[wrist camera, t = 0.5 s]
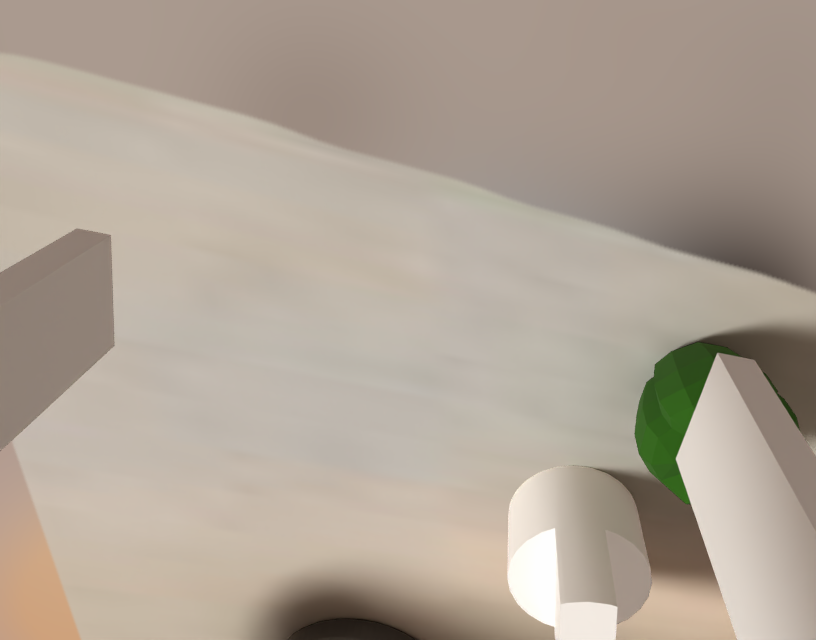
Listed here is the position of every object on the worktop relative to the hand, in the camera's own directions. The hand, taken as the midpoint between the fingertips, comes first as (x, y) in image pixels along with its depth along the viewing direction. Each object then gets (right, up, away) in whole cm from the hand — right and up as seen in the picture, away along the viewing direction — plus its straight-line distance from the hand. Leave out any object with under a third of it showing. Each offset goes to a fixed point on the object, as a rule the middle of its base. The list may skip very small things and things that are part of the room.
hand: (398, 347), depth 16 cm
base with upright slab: (+12, -13, +36) cm, 40 cm away
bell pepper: (+18, -3, +30) cm, 35 cm away
